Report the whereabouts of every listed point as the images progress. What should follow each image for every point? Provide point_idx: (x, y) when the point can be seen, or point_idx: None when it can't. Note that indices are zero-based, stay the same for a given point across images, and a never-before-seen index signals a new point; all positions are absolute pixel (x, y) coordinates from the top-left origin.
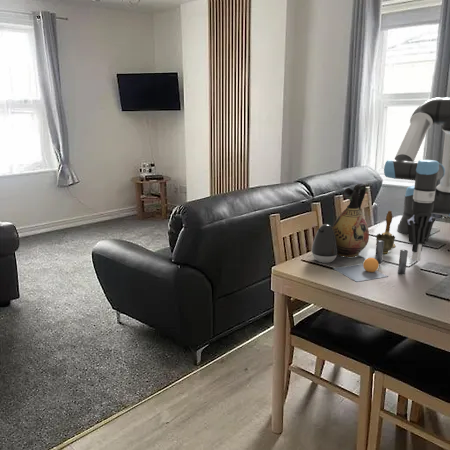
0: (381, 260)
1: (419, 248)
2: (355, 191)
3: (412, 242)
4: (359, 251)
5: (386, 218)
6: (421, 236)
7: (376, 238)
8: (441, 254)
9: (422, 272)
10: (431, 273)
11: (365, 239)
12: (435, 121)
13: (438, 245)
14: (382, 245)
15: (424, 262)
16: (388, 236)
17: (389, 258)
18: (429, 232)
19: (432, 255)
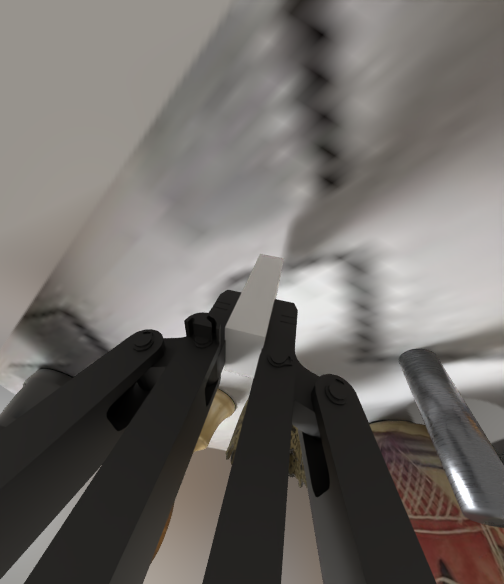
0: (429, 363)
1: (260, 307)
2: None
3: (349, 399)
4: (426, 445)
5: (165, 533)
6: (186, 428)
7: (301, 468)
8: (74, 271)
9: (395, 122)
10: (359, 55)
11: (467, 532)
12: None
13: (48, 322)
14: (498, 473)
15: (209, 251)
16: (235, 450)
17: (309, 355)
18: (5, 445)
19: (116, 283)
